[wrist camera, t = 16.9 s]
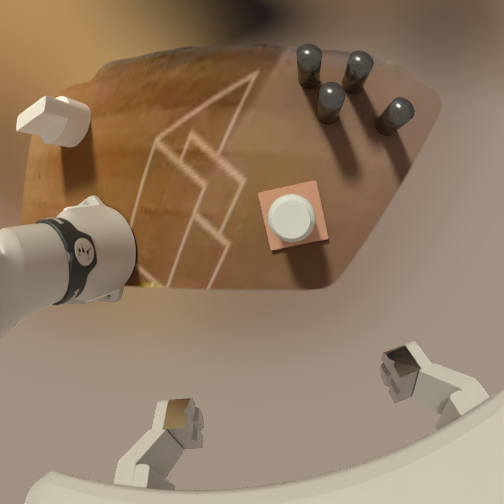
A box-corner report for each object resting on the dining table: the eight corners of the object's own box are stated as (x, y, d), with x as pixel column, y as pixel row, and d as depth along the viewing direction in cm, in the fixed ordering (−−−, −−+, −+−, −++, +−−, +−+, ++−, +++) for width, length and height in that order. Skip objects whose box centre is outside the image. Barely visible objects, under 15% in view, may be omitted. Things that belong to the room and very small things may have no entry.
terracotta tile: (271, 249, 39) (270, 250, 39) (258, 193, 39) (257, 193, 38) (328, 238, 38) (328, 238, 37) (315, 180, 37) (315, 180, 36)
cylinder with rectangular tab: (91, 96, 41) (48, 79, 29) (90, 139, 42) (43, 128, 30) (61, 113, 42) (19, 102, 31) (60, 153, 44) (14, 147, 32)
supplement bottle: (265, 214, 38) (253, 216, 29) (294, 187, 37) (292, 181, 28) (291, 244, 38) (288, 256, 29) (321, 218, 37) (328, 221, 28)
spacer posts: (318, 147, 36) (322, 132, 28) (296, 73, 35) (293, 46, 27) (397, 134, 34) (417, 119, 26) (371, 63, 32) (383, 37, 24)
